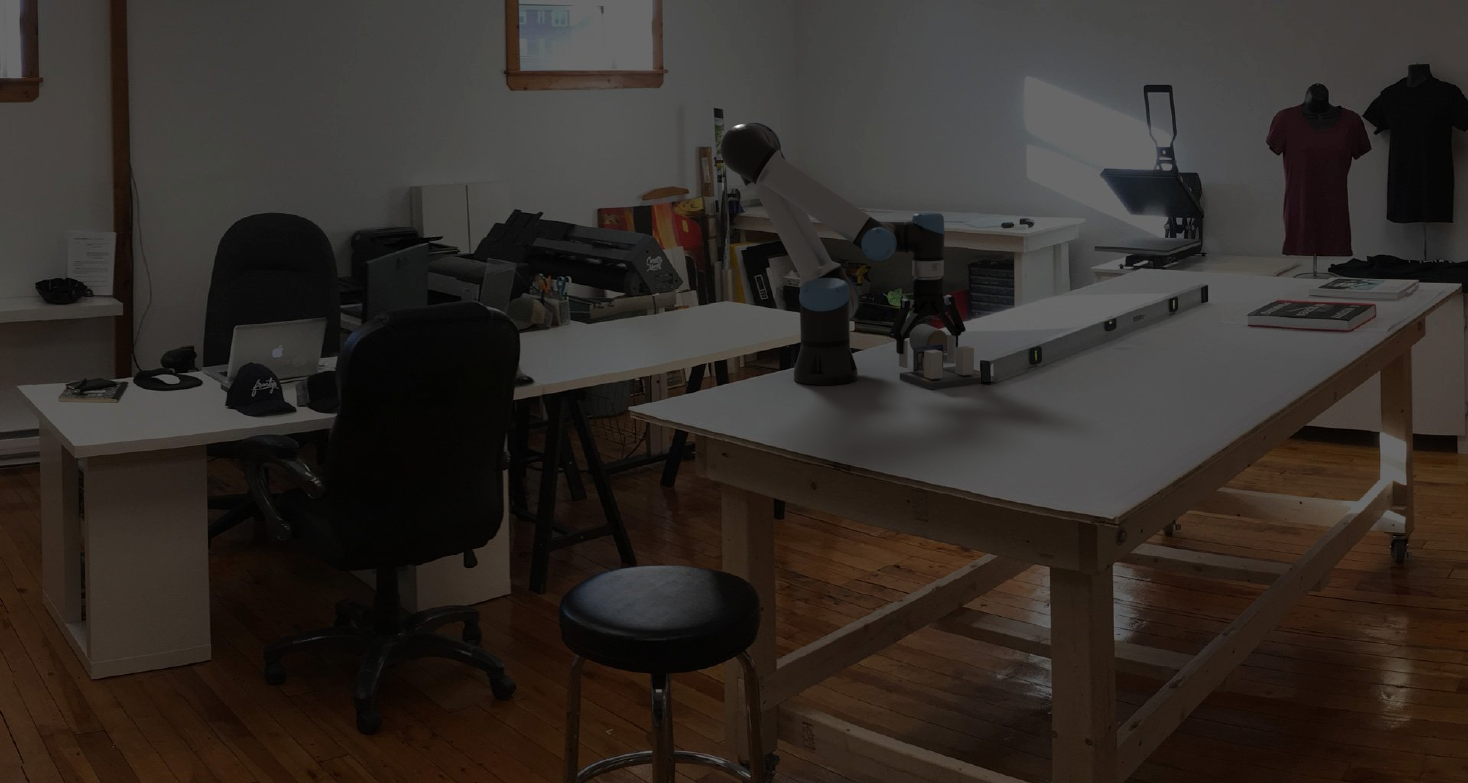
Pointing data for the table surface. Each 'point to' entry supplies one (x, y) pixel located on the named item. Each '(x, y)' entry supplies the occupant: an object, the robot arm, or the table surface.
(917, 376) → the grey base plate
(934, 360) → the cream upright block
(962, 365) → the tab
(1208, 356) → the table surface
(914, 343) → the ceramic mug
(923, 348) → the mini dv tape
